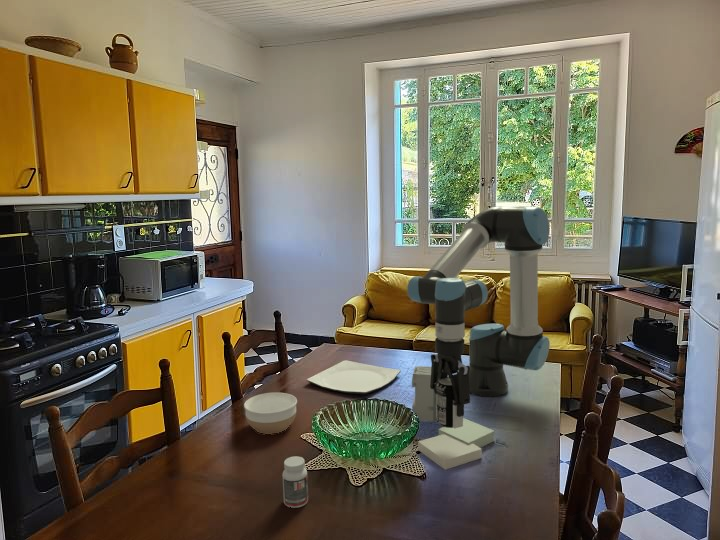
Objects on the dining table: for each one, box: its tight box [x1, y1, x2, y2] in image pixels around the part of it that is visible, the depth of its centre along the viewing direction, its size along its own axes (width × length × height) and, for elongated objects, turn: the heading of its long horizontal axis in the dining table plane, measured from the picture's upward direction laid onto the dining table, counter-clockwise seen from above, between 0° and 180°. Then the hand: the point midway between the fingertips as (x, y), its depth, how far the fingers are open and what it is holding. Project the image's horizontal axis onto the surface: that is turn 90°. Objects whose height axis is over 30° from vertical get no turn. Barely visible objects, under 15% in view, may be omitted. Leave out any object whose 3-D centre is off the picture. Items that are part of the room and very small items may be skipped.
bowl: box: [243, 392, 298, 435], centre depth 161 cm, size 16×16×8 cm
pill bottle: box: [281, 455, 309, 509], centre depth 121 cm, size 6×6×10 cm
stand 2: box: [417, 434, 483, 471], centre depth 142 cm, size 12×12×2 cm
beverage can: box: [436, 377, 460, 428], centre depth 140 cm, size 7×7×12 cm
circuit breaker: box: [411, 365, 438, 423], centre depth 164 cm, size 8×14×15 cm, turn 78°
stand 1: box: [438, 417, 495, 449], centre depth 149 cm, size 11×11×3 cm
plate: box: [306, 359, 402, 395], centre depth 199 cm, size 29×29×3 cm
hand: (449, 421), depth 140 cm, fingers closed on beverage can, 7 cm apart
